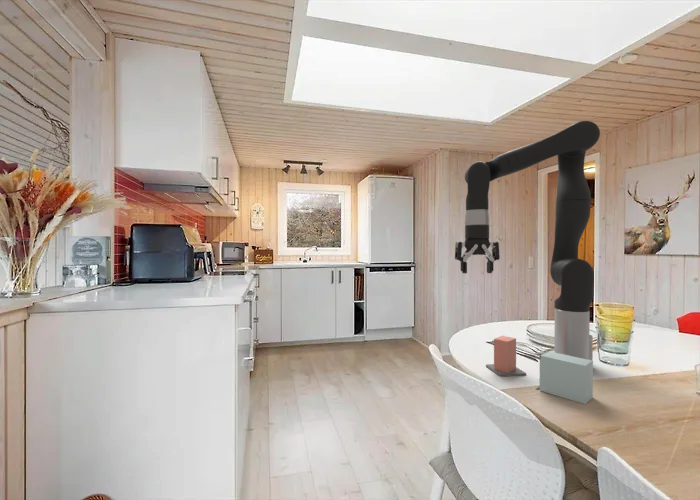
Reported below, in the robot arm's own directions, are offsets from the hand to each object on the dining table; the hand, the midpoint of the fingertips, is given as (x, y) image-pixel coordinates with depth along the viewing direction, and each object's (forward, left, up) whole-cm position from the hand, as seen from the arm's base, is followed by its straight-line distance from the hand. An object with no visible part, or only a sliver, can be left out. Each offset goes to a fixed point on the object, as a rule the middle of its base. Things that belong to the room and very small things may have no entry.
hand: (477, 273), depth 112 cm
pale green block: (-9, +28, -28) cm, 41 cm away
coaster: (-3, +12, -28) cm, 31 cm away
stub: (-3, +12, -28) cm, 30 cm away
